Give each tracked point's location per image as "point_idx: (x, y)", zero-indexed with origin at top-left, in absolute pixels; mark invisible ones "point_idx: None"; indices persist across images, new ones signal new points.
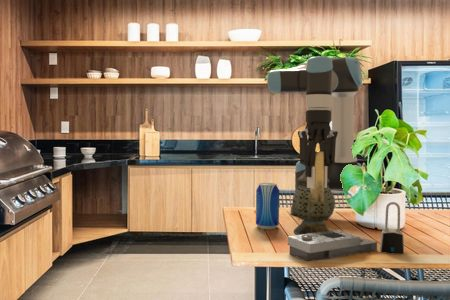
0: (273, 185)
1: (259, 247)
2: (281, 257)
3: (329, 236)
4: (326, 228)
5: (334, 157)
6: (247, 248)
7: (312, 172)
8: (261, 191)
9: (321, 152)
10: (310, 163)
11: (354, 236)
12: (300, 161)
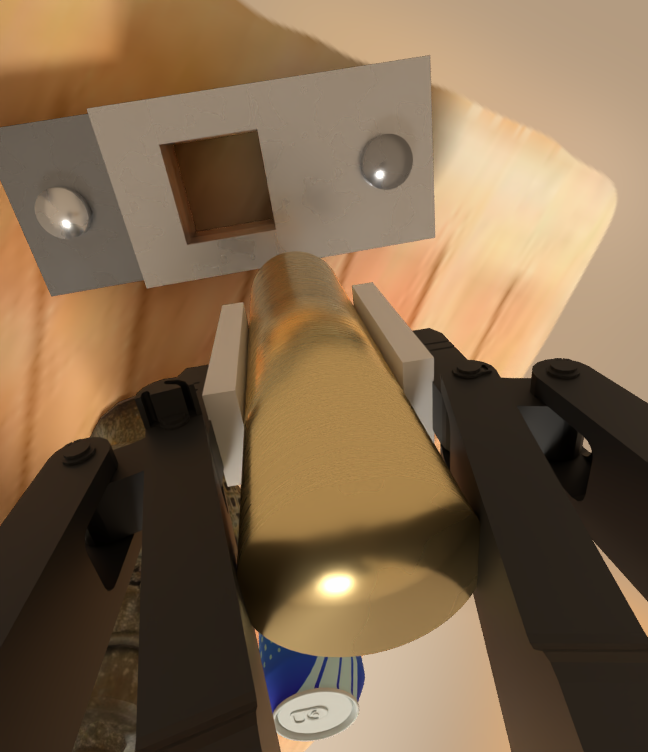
0: (306, 691)
1: (460, 327)
2: (464, 179)
3: (215, 236)
4: (120, 436)
5: (25, 503)
6: (504, 327)
7: (411, 337)
8: (358, 663)
9: (362, 467)
10: (487, 375)
11: (119, 123)
12: (581, 447)
